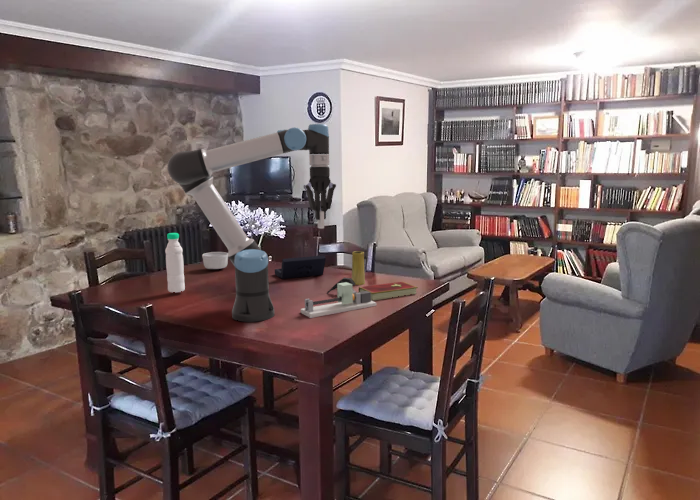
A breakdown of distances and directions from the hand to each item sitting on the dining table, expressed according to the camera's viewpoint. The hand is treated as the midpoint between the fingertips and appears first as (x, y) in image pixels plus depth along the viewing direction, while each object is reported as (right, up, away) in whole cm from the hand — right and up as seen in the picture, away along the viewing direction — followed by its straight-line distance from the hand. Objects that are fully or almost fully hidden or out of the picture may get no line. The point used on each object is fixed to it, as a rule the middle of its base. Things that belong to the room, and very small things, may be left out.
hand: (321, 228), depth 210 cm
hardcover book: (+27, -28, +15) cm, 41 cm away
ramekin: (-59, -18, +75) cm, 97 cm away
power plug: (+3, -29, +18) cm, 34 cm away
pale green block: (+9, -28, -5) cm, 30 cm away
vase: (+15, -24, +35) cm, 45 cm away
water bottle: (-63, -26, +25) cm, 73 cm away
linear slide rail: (+7, -31, -6) cm, 32 cm away
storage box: (-13, -21, +54) cm, 60 cm away
